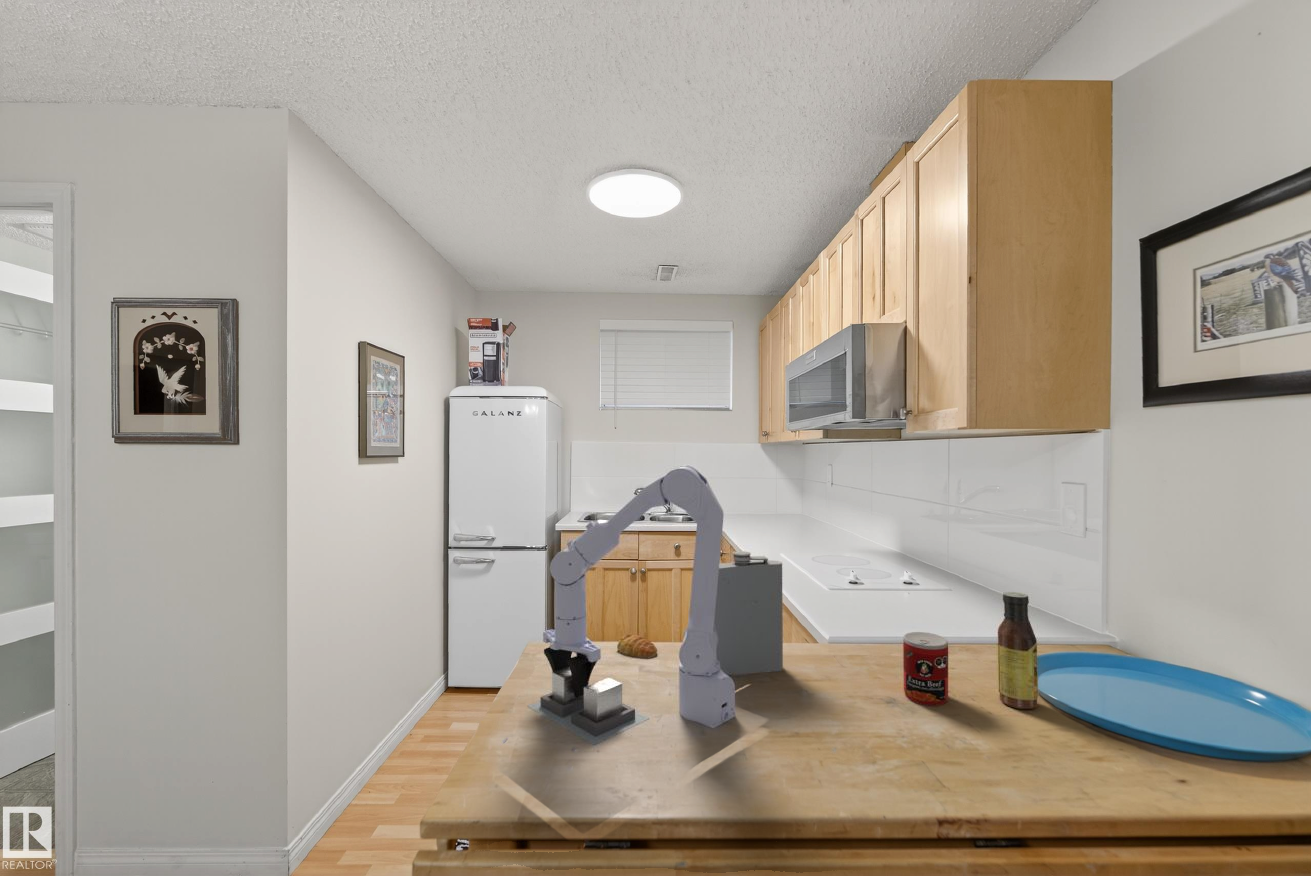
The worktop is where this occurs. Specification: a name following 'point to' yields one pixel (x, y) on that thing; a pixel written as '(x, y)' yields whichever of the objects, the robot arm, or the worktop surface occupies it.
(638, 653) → the pastry
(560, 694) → the metal billet
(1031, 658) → the sauce bottle
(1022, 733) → the worktop surface
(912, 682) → the canned food
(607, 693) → the block
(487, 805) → the worktop surface
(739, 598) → the flask
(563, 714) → the pallet
